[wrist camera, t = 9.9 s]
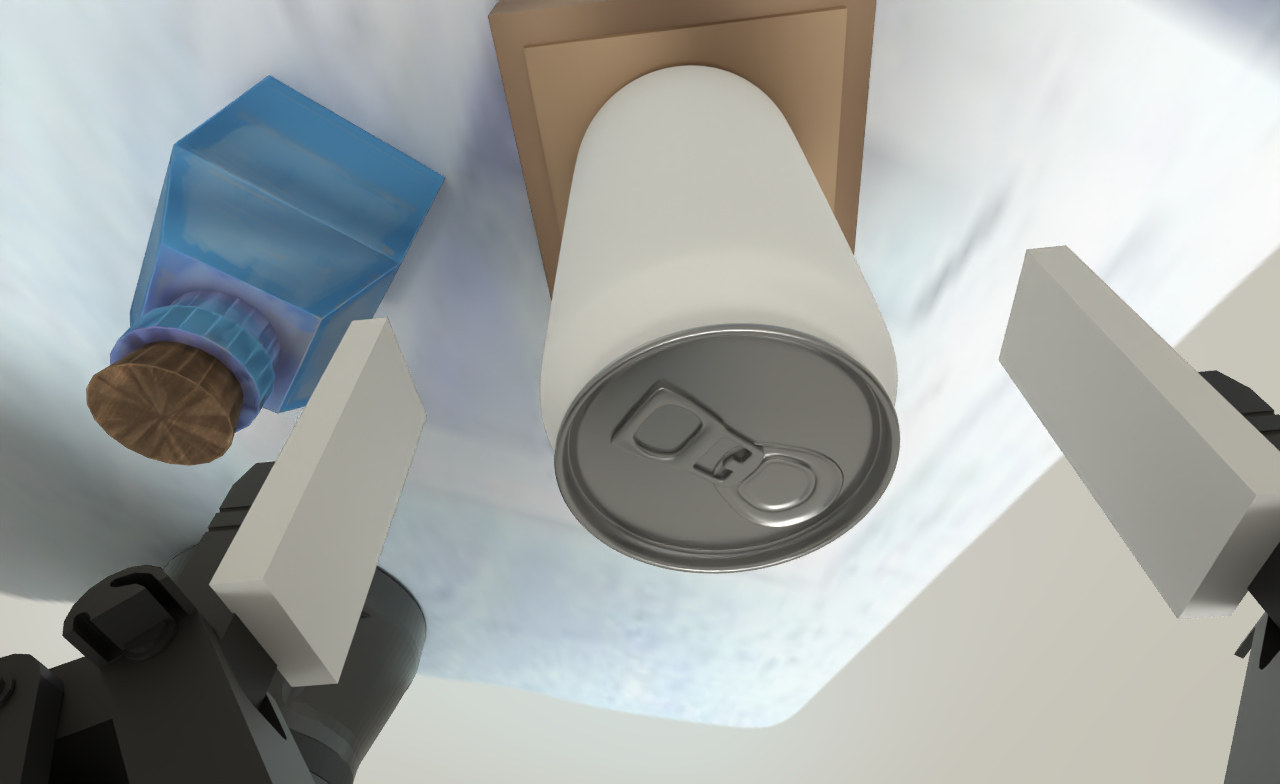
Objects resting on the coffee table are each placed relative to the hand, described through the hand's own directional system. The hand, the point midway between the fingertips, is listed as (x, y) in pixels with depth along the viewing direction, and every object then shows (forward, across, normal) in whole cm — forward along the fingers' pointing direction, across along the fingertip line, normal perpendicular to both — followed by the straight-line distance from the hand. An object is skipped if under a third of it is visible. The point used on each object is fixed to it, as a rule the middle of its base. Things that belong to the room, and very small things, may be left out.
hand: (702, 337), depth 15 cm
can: (+8, 0, 0) cm, 8 cm away
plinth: (+12, 0, 0) cm, 12 cm away
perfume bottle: (+12, -12, -1) cm, 18 cm away
